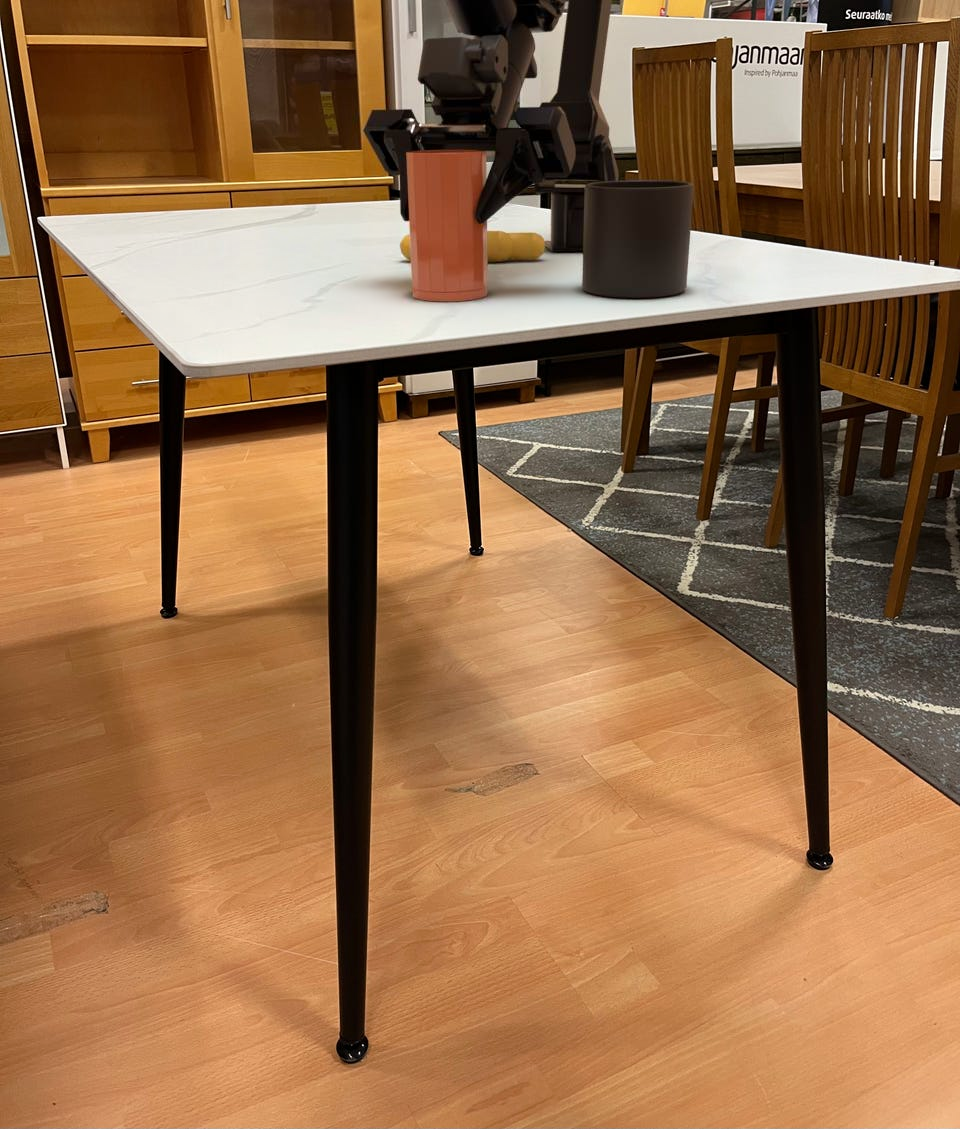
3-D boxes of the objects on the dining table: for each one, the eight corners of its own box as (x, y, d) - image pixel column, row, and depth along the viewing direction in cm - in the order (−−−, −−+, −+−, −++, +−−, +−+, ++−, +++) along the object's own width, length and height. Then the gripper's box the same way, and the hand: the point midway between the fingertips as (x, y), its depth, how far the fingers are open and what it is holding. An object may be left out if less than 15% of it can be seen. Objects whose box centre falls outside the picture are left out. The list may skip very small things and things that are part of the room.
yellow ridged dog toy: (397, 264, 105) (395, 233, 103) (402, 259, 108) (400, 229, 107) (544, 263, 104) (545, 232, 102) (545, 258, 107) (545, 228, 106)
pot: (411, 289, 90) (404, 150, 85) (483, 287, 91) (481, 148, 85) (414, 302, 84) (407, 153, 79) (491, 300, 84) (489, 151, 79)
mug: (675, 276, 94) (682, 177, 90) (693, 298, 83) (701, 187, 79) (579, 277, 95) (581, 178, 91) (584, 299, 84) (587, 188, 80)
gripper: (366, 7, 84) (306, 150, 80) (567, -6, 77) (513, 151, 72) (413, 106, 94) (362, 238, 90) (595, 103, 87) (549, 246, 82)
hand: (440, 219), depth 83 cm, fingers closed on pot, 7 cm apart
